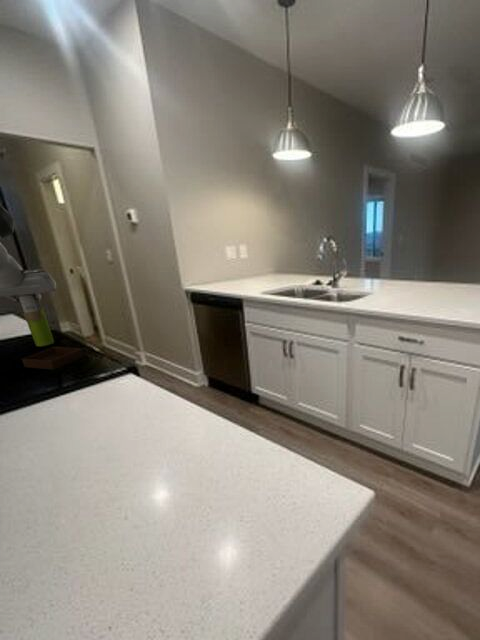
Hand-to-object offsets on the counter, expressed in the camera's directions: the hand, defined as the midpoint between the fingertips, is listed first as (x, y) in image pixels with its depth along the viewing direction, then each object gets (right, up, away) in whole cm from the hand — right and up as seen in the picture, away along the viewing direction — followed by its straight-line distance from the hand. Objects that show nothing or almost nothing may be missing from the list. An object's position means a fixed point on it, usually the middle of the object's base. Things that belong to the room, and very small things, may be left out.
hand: (28, 299), depth 113 cm
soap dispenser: (-7, -14, +16) cm, 23 cm away
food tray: (+10, -21, -2) cm, 23 cm away
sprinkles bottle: (+1, -7, +2) cm, 7 cm away
